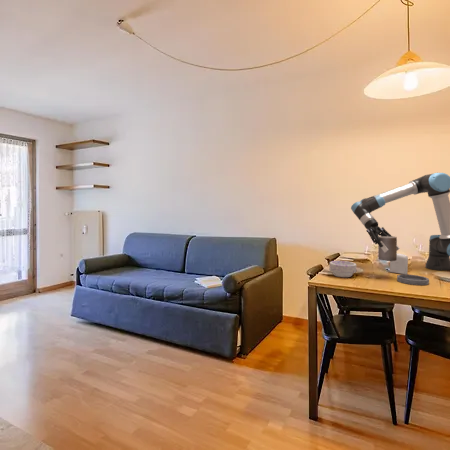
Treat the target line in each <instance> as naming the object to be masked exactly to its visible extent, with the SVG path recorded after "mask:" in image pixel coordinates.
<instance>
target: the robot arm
mask: <svg viewBox="0 0 450 450" xmlns="http://www.w3.org/2000/svg"><path fill="white" fill-rule="evenodd" d="M423 193H427V196H428V198H430V199H431V200H432V203H433V208H434V211H435V216H436V219H437V223H438V227H439V232H440V234H432V235H430V236H429V245H428V246H429V247H428V258H427V260H426V263H425V265H424V266H425V268H426V269H430V270H432V271H433V270H434V271H442V270H450V197H449V194H450V175H449V174H447V173H446V172H434V173H431V174H430V173H429V174H425V175H422V176H420V177H418V178H416V179H413V180H410V181H409V182H408V183H406V184H403V185H400V186H398V187H395V188H393V189H392V188H391V189H389V190H386V191H383V192H381V193H378V194H374V195H373V196H370V197H366V198H365V197H364V198H363V199H361V200H360V201H356V202H354V203H352V205H351V207H350V209H351V211H352V213H353V215H355V216H356V217H357V219H358V220H359V221H360V223H361V224H362V225H363V226H364V228H365V229H366V232H367V233H368V235H369V237H370V239H371V241H372V243H373V244H375V245H379V246H380V247H381V249H382V250H383V251H384V252H387V251H388V248H387V247H386V246H385V245H384V243H383V242H382V241H380V239H379V236H392V235H391V234H390V232H388V231H387V230H386V229H385V227H384V226H381V227H380V226H379V222H378V221H377V220H376V218H375V217H374V216H373V215H372V212H374V211H377V210H378V209H380V208H382V207H384V206H385V205H386V204H387V203H391V202H394V201H396V200H399V199H402V198H405V197H408V196H411V195H414V196H416V195H418V194H423ZM399 249H400V247H399V246H398V245H397V251H399Z"/></svg>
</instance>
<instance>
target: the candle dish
mask: <svg viewBox="0 0 450 450" xmlns="http://www.w3.org/2000/svg"><path fill="white" fill-rule="evenodd" d="M396 279H397V282H399V283H401V284H405V285H411V286H427V285H429V283H430V279H429V278H428V277H425V276H421V275H415V274H397V277H396Z"/></svg>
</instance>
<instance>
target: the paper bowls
mask: <svg viewBox="0 0 450 450" xmlns="http://www.w3.org/2000/svg"><path fill="white" fill-rule="evenodd" d="M329 272H332V274H333V276H335V277H338V278H350V277H352V276H353V275H354V273H355V274H356V272H357V263H356V262H352V261H347V260H332V261H329Z"/></svg>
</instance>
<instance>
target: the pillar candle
mask: <svg viewBox="0 0 450 450" xmlns="http://www.w3.org/2000/svg"><path fill="white" fill-rule="evenodd" d="M378 236H379V235H378ZM379 239H380V241H382V242H383V243H384V245H385V246H386V247H387V248H388V251H387V252H384V251H383V250H382V249H381V247H380V246H379V245H378V244H377V245H378V252H377V253H378V255H377V258H378V260H379V261H384V262H390V261H396V260H397V253H398V250H397V246H398V243H397V242H398V239H397V236H393V235H391V236H379Z"/></svg>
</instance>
